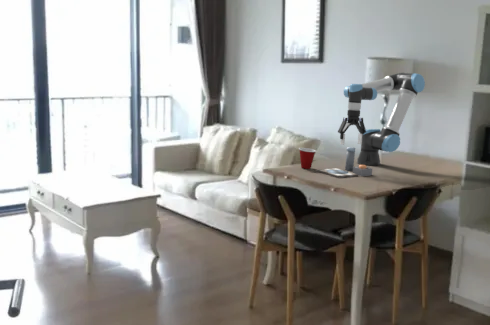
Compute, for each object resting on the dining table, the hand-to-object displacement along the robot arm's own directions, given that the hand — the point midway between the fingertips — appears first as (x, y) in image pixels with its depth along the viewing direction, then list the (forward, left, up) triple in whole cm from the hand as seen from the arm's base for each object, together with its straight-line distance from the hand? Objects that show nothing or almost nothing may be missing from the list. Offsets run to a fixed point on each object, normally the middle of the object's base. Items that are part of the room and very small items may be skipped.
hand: (350, 144), depth 337 cm
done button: (+1, +13, -13) cm, 18 cm away
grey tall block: (0, 0, -16) cm, 16 cm away
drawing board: (+15, +7, -16) cm, 23 cm away
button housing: (+1, +13, -16) cm, 21 cm away
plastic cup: (+23, -13, -16) cm, 31 cm away
